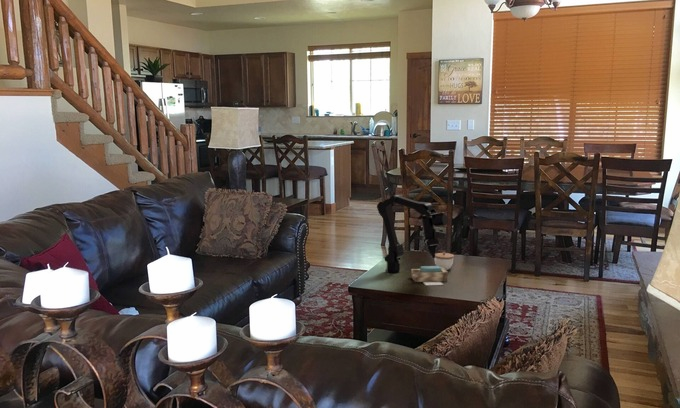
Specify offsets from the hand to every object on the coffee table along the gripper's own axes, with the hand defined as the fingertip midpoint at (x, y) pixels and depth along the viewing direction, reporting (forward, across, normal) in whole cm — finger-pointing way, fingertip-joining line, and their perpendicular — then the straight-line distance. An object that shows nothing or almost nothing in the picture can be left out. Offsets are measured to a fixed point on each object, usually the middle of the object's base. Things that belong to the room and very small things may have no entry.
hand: (432, 256), depth 293 cm
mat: (+13, -7, +3) cm, 15 cm away
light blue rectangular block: (+10, +2, +2) cm, 10 cm away
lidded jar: (+11, +24, -7) cm, 27 cm away
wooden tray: (+12, +2, +3) cm, 12 cm away
